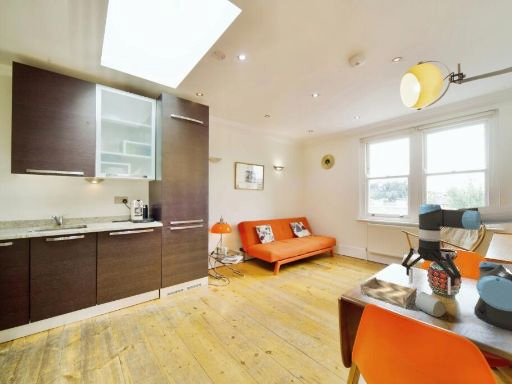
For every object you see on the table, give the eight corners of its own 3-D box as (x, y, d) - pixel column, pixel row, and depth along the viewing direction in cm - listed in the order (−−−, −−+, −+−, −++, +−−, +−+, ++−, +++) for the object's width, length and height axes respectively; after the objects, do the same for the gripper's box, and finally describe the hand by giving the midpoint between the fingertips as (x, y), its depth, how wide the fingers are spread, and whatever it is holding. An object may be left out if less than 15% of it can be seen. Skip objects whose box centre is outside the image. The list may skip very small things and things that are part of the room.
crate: (416, 297, 110) (416, 288, 110) (405, 309, 99) (405, 298, 99) (374, 285, 125) (374, 276, 125) (360, 293, 114) (360, 284, 114)
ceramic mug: (435, 320, 90) (435, 301, 90) (414, 310, 98) (414, 292, 98) (451, 315, 94) (451, 297, 94) (430, 306, 101) (430, 289, 101)
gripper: (470, 243, 89) (469, 295, 89) (399, 234, 108) (399, 277, 108) (467, 246, 84) (467, 301, 84) (394, 236, 103) (394, 281, 103)
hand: (429, 288), depth 96 cm, fingers open, 13 cm apart
